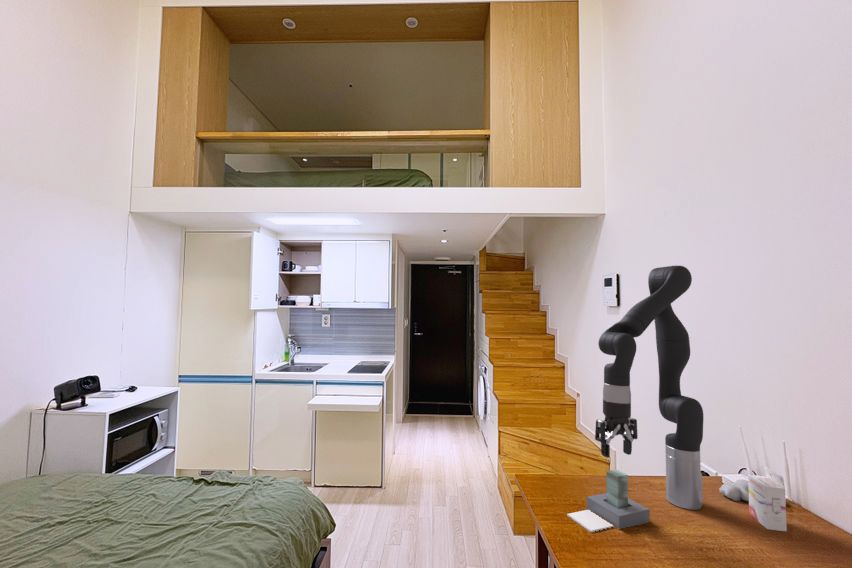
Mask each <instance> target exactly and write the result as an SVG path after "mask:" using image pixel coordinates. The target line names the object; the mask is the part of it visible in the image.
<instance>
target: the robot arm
mask: <svg viewBox="0 0 852 568" xmlns="http://www.w3.org/2000/svg"><path fill="white" fill-rule="evenodd" d="M647 279H648V281H647V282H648V290H649V296H647V297H646V298H644V299H642V300H640V301H639V302H637V303H636V304H634V305H633V306H632V307H631V308H630V309H629V310H627V312H626V313H625V314H624V316H623V317H622V318H621V319H620V320H619V321H617V322H616V323H614V324H612V325H611V326H610V327H608V328H607V329H606V330H604V332H603V333H602V334H601V335H600V336H599V339H598V342H597V343H598V348H599V350H600V351H601V353H603V354H605V355H608V356H614V357H615V359H614V360H613V363H611V362H610V363H607V364H605V365H604V368H603V387H602V388H603V389H602V413H603V415H604V420H601V419H596V421H595V430H594V431H595V434H594V435H595V436H594V439H595V441H597V442H599V443H600V453H601V455H602V456H603V457H604V458H610V456H611V455H610V453H611V451H610V449H611V447H610V442H611V441H612V439H615V437H616V436H619V435H620V436H622V439H623V441H622V442H623V445H622V449H623V450H622V451H623V453H624V454H625V455H628V456H629V455H632V451H633V449H632V448H633V446H632V445H633V442H634V440H638V438H639V437H638V420H637V419H636V418H633V417H632V393H631V369H632V367H633V364H634V360H635V357H636V353H637V342H636V340H635V338H638V337H640V336H642V334H643V333H644V332H645V331H646V330H647V329H648V328H649V326H650V325H651V324H652V322H653V321H654V329H655V343H656V352H657V361H658V409H659V413H660V414H661V416H662V418H663V419H664V420H666V421H668V422H671V423H674V424H676V431H675V432H673V433H667V434H666V435H665V443H664V444H665V447H664V448H665V488H666V489H665V491H666V492H665V493H666V495H665V496H666V497H665V498H666V500H667V502H668V503H670V504H672V505H674V506H676V507H679V508H681V509H686V510H691V511H692V510H694V511H697V510H700V509H701V508H702V506H703V505H704V498H703V497H704V496H703V491H704V490H703V488H704V487H703V486H704V485H703V474H702V473H701V444H702V442H703V438H704V410H703V407H702V404H701V403H700V401H698V400H697V399H696V398H693V397H690V396H685V395H682V392H681V391H682V390H681V377H682V373H683V372H684V370H685V368H686V366H687V364H688V363H689V360H690V357H691V344H690V335H689V332H688V330H687V328H686V327H685V325H683V322H681V320H680V319H679V317H678V316H677V314H676V313H675V311H674V309H673V307H672V303H674V302H675V301H676V300H677V299H678V298H680V297H681V296H683V294H684V293H686V292H687V291H688V290H689V289H690V287H691V285H692V279H693V278H692V273H691V272H690V269H688V268H687V267H686V266H684V265H668V266H660V267H655V268H653V269H651V271H650V272H649V274H648V278H647Z"/></svg>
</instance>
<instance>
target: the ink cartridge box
mask: <svg viewBox="0 0 852 568" xmlns="http://www.w3.org/2000/svg"><path fill="white" fill-rule="evenodd" d="M764 474H765V476H764V475H756V474H748V475H747V481H748V487H749V501H748V513H749V515H750V517H752V518H754V520H755V521H757V522H758V523H760V524H761V525H762V527H764V528H765V529H767V530H770V531H771V530H772V531H779V532H787V531H788V530H787V529H788V527H787V509H786V507H787V504H786V489H785V483H784V481H785V480H784V477H783V476H782V475H781V474H780V473H777V472H775V471H774V470H772V469H770V468H769V467H767V466H766V465H764ZM773 475H774V476H773ZM775 477H776V478H775Z"/></svg>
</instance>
